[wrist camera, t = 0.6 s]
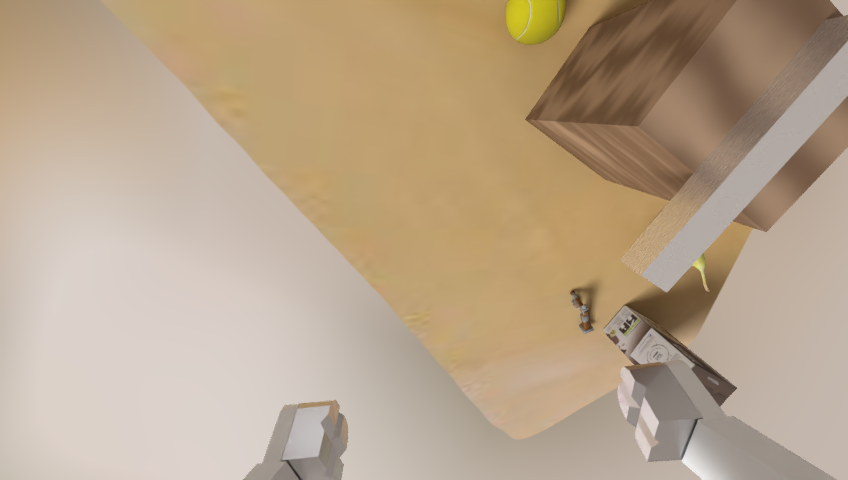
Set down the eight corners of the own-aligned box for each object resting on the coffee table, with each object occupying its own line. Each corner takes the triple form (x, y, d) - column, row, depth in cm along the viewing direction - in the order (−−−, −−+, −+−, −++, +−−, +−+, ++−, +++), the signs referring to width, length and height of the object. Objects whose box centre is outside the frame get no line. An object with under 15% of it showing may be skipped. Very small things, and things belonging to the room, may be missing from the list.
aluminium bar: (643, 276, 33) (666, 292, 30) (619, 260, 32) (640, 275, 29) (848, 46, 27) (900, 38, 24) (824, 20, 27) (875, 9, 24)
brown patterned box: (608, 181, 57) (770, 235, 32) (525, 119, 53) (638, 126, 28) (673, 100, 53) (909, 91, 29) (589, 27, 49) (780, -56, 25)
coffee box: (600, 331, 66) (662, 397, 50) (624, 303, 64) (695, 363, 49) (637, 352, 68) (707, 421, 53) (661, 325, 66) (740, 389, 51)
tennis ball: (549, -17, 47) (574, -38, 41) (553, 43, 50) (577, 32, 43) (496, -7, 47) (512, -26, 41) (502, 53, 50) (518, 44, 43)
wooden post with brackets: (576, 286, 61) (592, 307, 58) (580, 310, 67) (594, 330, 63) (566, 291, 61) (581, 312, 58) (571, 314, 67) (585, 335, 64)
